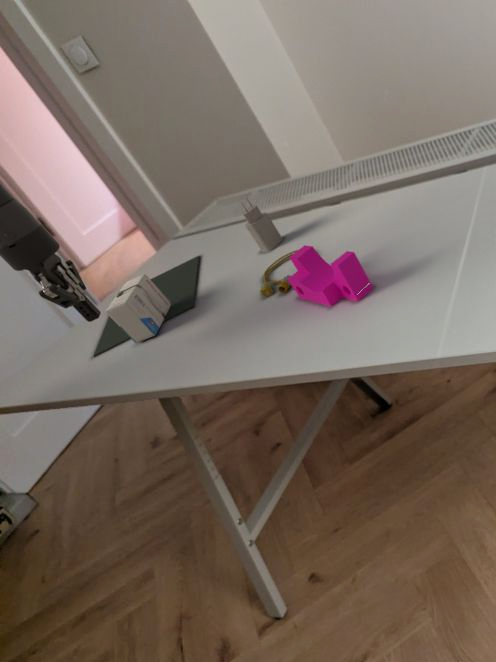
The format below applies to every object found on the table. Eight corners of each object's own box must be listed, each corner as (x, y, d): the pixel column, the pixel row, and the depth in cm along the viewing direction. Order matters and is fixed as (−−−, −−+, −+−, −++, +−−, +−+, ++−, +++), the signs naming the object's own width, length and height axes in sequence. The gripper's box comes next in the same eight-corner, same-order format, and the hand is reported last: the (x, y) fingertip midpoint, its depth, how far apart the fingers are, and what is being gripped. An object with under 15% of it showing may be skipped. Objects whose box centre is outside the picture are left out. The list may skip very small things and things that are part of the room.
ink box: (134, 344, 107) (153, 313, 117) (156, 335, 107) (173, 304, 116) (103, 311, 102) (125, 281, 112) (126, 301, 102) (146, 272, 111)
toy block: (300, 298, 99) (278, 265, 94) (324, 278, 102) (304, 245, 97) (348, 311, 89) (326, 274, 85) (373, 289, 92) (354, 252, 88)
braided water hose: (241, 299, 108) (236, 291, 106) (288, 254, 117) (283, 246, 116) (283, 298, 101) (278, 290, 100) (329, 251, 111) (324, 242, 110)
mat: (194, 308, 112) (192, 306, 112) (95, 358, 110) (93, 355, 110) (200, 257, 136) (198, 255, 136) (118, 297, 134) (117, 295, 134)
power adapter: (284, 239, 126) (255, 192, 118) (270, 252, 122) (240, 205, 115) (275, 240, 127) (246, 194, 120) (261, 253, 124) (230, 206, 117)
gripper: (6, 231, 90) (83, 312, 101) (-23, 259, 80) (66, 345, 90) (48, 212, 91) (120, 293, 102) (26, 236, 81) (109, 325, 91)
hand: (95, 318), depth 96 cm, fingers closed
